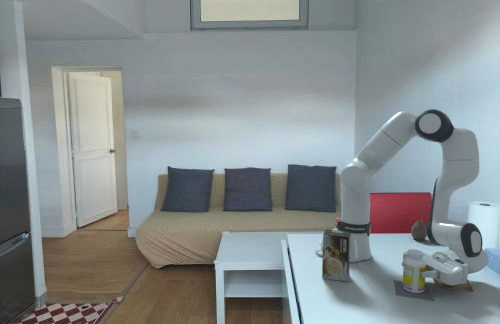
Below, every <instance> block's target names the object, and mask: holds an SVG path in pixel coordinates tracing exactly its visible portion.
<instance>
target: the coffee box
mask: <svg viewBox="0 0 500 324" xmlns="http://www.w3.org/2000/svg"><path fill="white" fill-rule="evenodd" d="M322 239H323V256H322V266H321V267H322V268H321V271H322V273H321V275H322V276H321V278H322V279H327V280H335V281H339V282H340V281H341V282H346V283H348V282H349V281H350V277H351V275H350V272H351V271H350V268H351V267H350V266H351V262H350V242H351V232H346V231H337V230H333V229H330V228H329V229H328V228H327V229H325V230H324V231H323V234H322Z"/></svg>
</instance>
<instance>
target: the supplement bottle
mask: <svg viewBox="0 0 500 324" xmlns="http://www.w3.org/2000/svg"><path fill="white" fill-rule="evenodd" d="M407 251H408V253H407V254H408V257H406V258H405V259H404V266H402V267H403V269H402V273H403V274H402V281H403V288H404V289H405V290H406V291H408V292H411V293H422V292H424V289H425V284H426V278H423V277H422V276H420V271H423V270H425V271H426V262H425V261H424V260H423V259H422V258H423V251H422V250H418V249H412V248H411V249H408V250H407Z"/></svg>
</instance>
